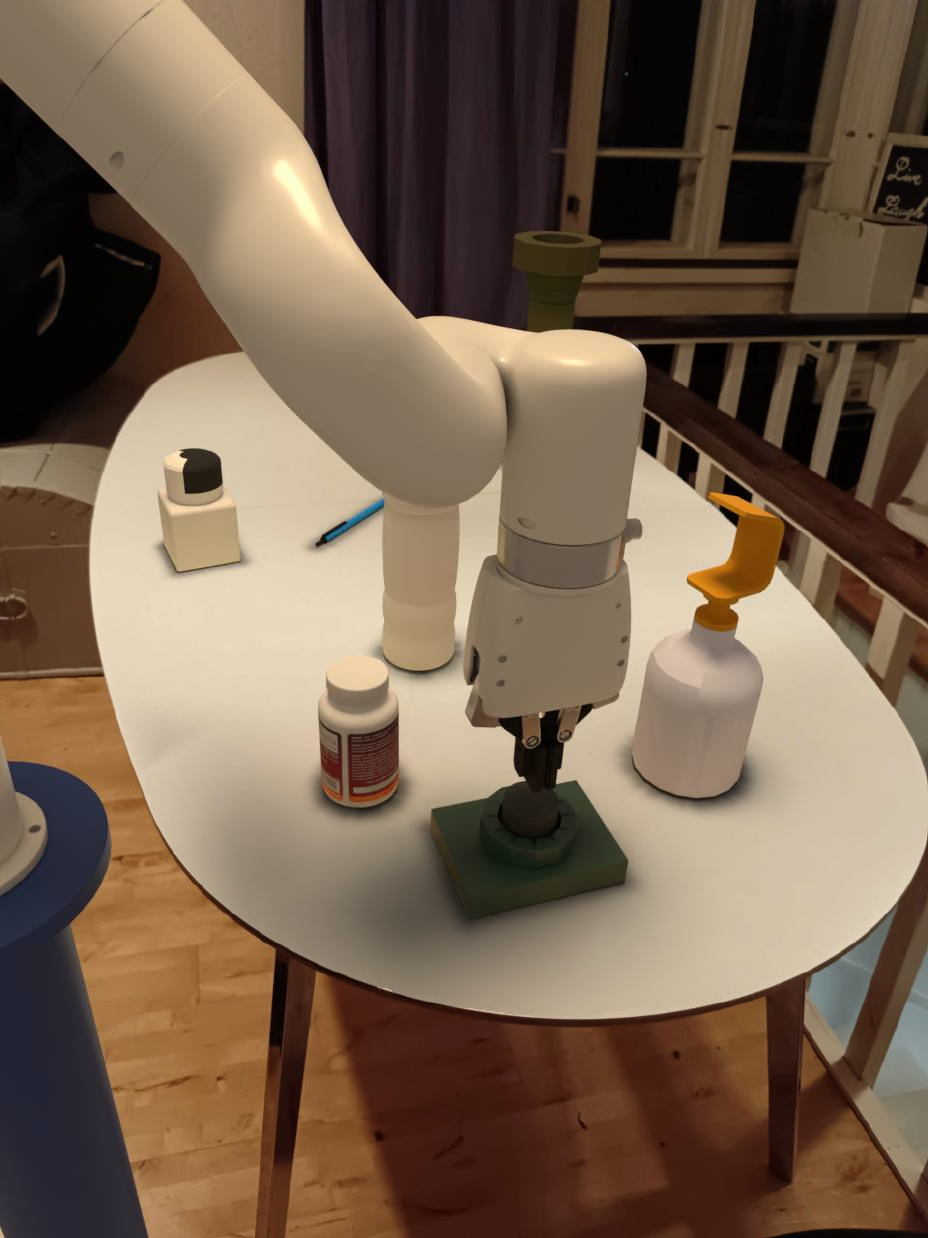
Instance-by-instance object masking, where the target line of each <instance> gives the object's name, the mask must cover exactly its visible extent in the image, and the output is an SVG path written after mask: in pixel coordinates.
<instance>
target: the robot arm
mask: <svg viewBox="0 0 928 1238" xmlns="http://www.w3.org/2000/svg"><path fill="white" fill-rule="evenodd" d="M0 80H1V81H2V82H4V84H5V85H7V86H8V87H9V88H10V90H12V91H13V92H14V93H15V94H16V96H17V97H19V99H20V100H22V101H23V102H24V103H25V104H26V105H27V106H28V107H29V108H30V109H31V110H32V111H33V112H34V113H35V114H36V115H37V116H38V117H39V118H40V119H41V120H42V121H43V122H44V123H45V124H47V126H48V127H50V129H51V130H52V131H54V133H56V134H57V135H58V136H59V137H60V138H61V139H63V140H64V141H65V142H66V143H67V144H68V145H69V146H70V147H71V148H72V149H73V150H74V151H75V152H76V153H77V154H78V155H79V156H80V157H81V158H82V159H83V160H84V161H85V162H86V163H87V164H88V165H89V166H90V167H92V169H94V170H95V171H96V173H98V175H100V176H101V177H102V179H104V180H105V181H106V182H107V183H108V185H110V186H111V187H112V188H113V189H114V190H115V191H116V192H117V193H118V194H119V195H120V196H121V197H122V199H124V200H125V201H126V202H127V203H128V204H130V206H131V208H132V209H133V210H134V211H135V212H136V213H137V214H139V215H140V216H141V217H142V218H143V219H144V220H145V221H146V222H147V223H148V224H149V225H150V226H151V227H152V228H153V229H154V230H155V231H156V232H157V233H158V234H159V235H160V236H161V237H162V238H163V240H165V241H166V242H167V243H168V244H169V245H170V246H171V247H172V248H173V250H174V251H175V252H176V253H177V254H178V256H180V257H181V258H182V259H183V261H184V262H185V263H186V264H187V266H188V268H189V269H190V271H191V273H192V274H193V276H194V277H195V280H196V281H197V283H198V285H199V287H200V288H201V291H202V292H203V294H204V296H205V297H206V299H207V300H208V302H209V303H210V305H211V306H212V308H213V309H214V310H215V312H216V313H217V315H218V316H219V317H220V319H221V321H222V322H223V323H224V324H225V325H226V327H227V329H228V330H229V332H230V333H231V335H232V336H233V338H234V340H235V341H236V342H237V344H238V345H239V347H240V348H241V349H242V351H243V352H244V354H245V355H246V357H247V359H248V360H249V361H250V362H251V364H252V366H254V368H255V369H256V371H257V372H258V373H259V374H260V376H261V377H262V378H263V380H264V381H265V383H267V385H269V387H270V388H271V390H272V391H273V392H274V393H275V394H276V395H277V397H279V399H280V400H281V401H282V402H283V403H284V404H285V405H286V406H287V407H288V408H289V409H290V410H291V411H292V413H293V414H295V416H296V417H297V418H298V419H299V420H300V421H301V422H302V423H304V425H306V426H307V427H308V428H309V429H310V430H311V431H312V432H313V433H314V435H316V436H317V437H318V438H319V439H320V440H321V441H322V442H323V443H324V444H325V445H327V447H329V448H330V449H331V450H332V451H333V452H334V453H335V454H336V455H337V456H338V457H339V458H340V459H341V460H342V461H343V462H345V463H346V465H348V466H349V467H350V468H351V469H352V470H353V471H354V472H355V473H357V474H358V475H359V476H360V477H361V478H363V479H364V480H365V481H366V482H368V483H369V484H371V485H372V486H373V487H375V489H377V490H378V491H380V492H381V493H382V492H383V493H385V494H387V495H389V496H390V497H392V498H394V499H396V500H398V501H401V502H403V503H406V504H409V505H411V506H416V507H421V508H446V507H451V506H456V505H458V504H459V505H461V504H463V503H465V502H467V501H469V500H471V499H472V498H474V497H475V496H477V495H478V494H480V493H481V492H482V491H483V490H484V489H485V488H486V487H487V486H488V484H489V483H491V481H492V480H493V479H494V478H495V475H496V474H497V472H498V471H499V469H500V467H501V464H502V471H501V484H500V499H499V500H500V501H499V515H498V528H497V529H498V530H497V546H496V553H495V554H492V555H491V554H490V555H487V556H486V557H485V558H484V559H483V561H482V565H481V567H480V569H479V572H478V573H479V574H478V575H477V580H476V583H475V588H474V591H473V595H472V600H471V605H470V609H469V615H468V621H467V628H466V634H465V641H464V650H463V660H462V661H463V664H462V666H463V667H462V675H463V679H464V681H465V683H466V686H472V688H471V691H470V694H469V698H468V700H467V703H466V706H465V709H464V713H465V716H466V717H467V720H468V721H469V723H470V725H471V726H472V727H473V728H488V729H489V728H490V729H493V728H494V729H496V728H498V727H500V728H502V729H503V730H504V731H506V732H507V733H508V734H510V735H511V736H513V737H514V749H513V761H512V762H513V767H514V770H515V773H516V774H517V776H518V778H523V779H524V781H526V782H527V784H528V785H529V787H530V789H531V790H532V792H533V793H535V792H540V791H541V789H543V787H544V788H546V789H547V790H550V789H554V788H555V787H556V784H557V779H558V771H559V770H561V769H562V767H563V757H564V752H565V751H564V749H565V743H568V742H569V741H570V740H572V738H573V736H574V734H575V730H576V726H578V725H579V724H580V723H581V722H582V721H583V720H584V719H585V718H586V717H587V716H588V715H589V714H590V713H591V712H592V711H593V710H594V711H595V710H597V709H600V708H603V707H606V706H607V705H610V704H612V703H616V702H617V701H618V700H619V699H620V692H621V690H622V688H623V686H624V683H625V680H626V677H627V671H628V666H629V658H630V649H631V638H632V637H631V636H632V596H631V584H630V574H629V567H628V564H627V562H626V561H625V559H624V557H625V550H626V544H628V543H631V541H636V540H640V539H641V538H642V535H643V524H642V522H641V520H640V518H638V517H634V518H628V515H629V508H630V501H631V492H632V485H633V478H634V473H635V464H636V457H637V450H638V443H639V436H640V431H641V430H640V429H641V422H642V415H643V408H644V401H645V396H646V395H645V394H646V389H647V388H646V386H647V376H648V375H647V374H648V373H647V364H646V361H645V358H644V356H643V354H642V352H641V351H640V350H639V349H638V347H636V346H635V345H634V344H633V343H631V342H630V341H628V340H627V339H623V338H621V337H618V336H616V335H613V334H611V333H610V334H609V333H605V332H601V331H594V330H587V329H572V330H552V331H545V332H541V333H535V332H528V331H526V330H520V329H515V328H511V327H506V326H505V327H504V326H499V325H495V324H490V323H486V322H481V321H476V320H472V319H467V318H461V317H455V316H447V315H446V316H445V315H440V316H439V315H431V316H425V317H420V318H416V316H414V315H413V313H411V312H410V311H409V310H408V308H407V307H406V306H405V305H404V304H403V303H402V302H401V300H400V299H399V298H398V297H397V296H396V294H394V292H393V291H392V290H391V289H390V287H388V285H387V283H385V282H384V280H383V279H382V278H381V277H380V275H379V274H378V273H377V271H376V270H375V269H374V267H373V266H372V265H371V263H370V262H369V261H368V259H367V258H366V256H365V255H364V253H363V252H362V251H361V249H360V247H358V244H357V243H356V242H355V240H354V239H353V237H352V235H351V234H350V232H349V230H348V228H347V227H346V225H345V224H344V221H343V219H342V217H341V216H340V214H339V212H338V210H337V208H336V205H335V203H334V201H333V198H332V196H331V194H330V191H329V188H328V186H327V183H326V180H325V178H324V175H323V172H322V169H321V167H320V164H319V162H318V159H317V157H316V155H315V154H314V151H313V149H312V148H311V146H310V144H309V143H308V141H307V139H306V138H305V136H304V135H303V133H302V131H301V130H300V129H299V128H298V125H296V123H295V122H294V121H293V120H292V119H291V117H290V116H289V115H288V114H287V113H286V112H285V111H284V110H283V109H282V108H281V106H279V105H278V103H277V102H276V101H275V100H274V99H273V98H272V97H271V96H270V94H268V92H267V91H266V90H264V88H263V87H262V86H261V85H260V84H259V82H257V81H256V79H255V78H254V77H253V76H252V75H251V74H250V73H249V72H248V71H247V70H246V69H245V67H244V66H243V65H242V64H241V63H240V62H239V61H238V60H237V59H236V58H235V56H234V55H233V54H232V53H231V52H230V51H229V50H228V49H227V48H226V46H225V45H224V43H223V44H222V42H221V41H220V40H219V39H218V38H217V36H215V34H214V33H213V32H212V31H211V29H209V28H208V26H206V24H205V23H203V21H202V20H201V19H200V17H198V16H197V14H196V13H194V11H193V10H192V9H191V8H190V6H188V5H187V3H186V2H185V1H184V0H0ZM1 489H2V470H1V468H0V491H1ZM383 493H382V494H383ZM540 714H541V717H540ZM7 761H8V760H7V756H6V752H5V748H4V745H3V741H2V737H1V736H0V896H1V895H2V894H4V893H6V892H7V891H9V890H11V889H12V888H13V887H14V886H16V885H17V884H18V883H19V882H21V881H22V880H23V879H24V878H25V877H26V876H27V875H28V874H29V873H30V872H31V871H32V870H33V869H34V867H35V866H36V865H37V863H38V861H39V860H40V858H41V857H42V855H43V853H44V850H45V848H46V845H47V839H48V829H47V824H46V819H45V817H44V814H43V811H42V810H41V808H40V807H39V806H38V805H37V803H36V802H34V801H33V800H32V799H30V798H29V797H27V796H26V795H23V794H21V793H18V792H16V791H15V790H14V786H13V782H12V778H11V775H10V771H9V767H8V763H7Z"/></svg>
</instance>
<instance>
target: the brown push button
mask: <svg viewBox="0 0 928 1238" xmlns="http://www.w3.org/2000/svg"><path fill="white" fill-rule="evenodd" d="M508 786H509V787H508V788H507V790H506V791H505V793H504V796H503V806H502V823H503V825H504V827H505V828H506V829H507V830H508V831H509V832H510V833H512V834H513V835H515V836H517V837H523V838H529V839H538V838H542V837H546V836H548V835H549V834H551V833H552V832H553V830H554V829H555V827H556V824H557V816H558V809H559V798H558V796H557V794H556V792H555V791H554V790H553V789H550V790H547V789H546V788H544V787H543V789H541V791H540V792H535V793H533V792H532V790H531V789H530V787H529V785H528V784H527V782H526V780H521V781H517V782H515V783H514V782H513V784H511V785H508Z"/></svg>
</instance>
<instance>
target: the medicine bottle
mask: <svg viewBox="0 0 928 1238" xmlns="http://www.w3.org/2000/svg"><path fill="white" fill-rule="evenodd" d="M162 466H163V473H164V482H165V488H159V489H158V490H157V492H156V494H157V501H158V507H159V515H160V523H161V530H162V539H163V540H162V541H163V545H164V547H165V550H166V551H167V554H168V555H169V557H170V559H171V562H172V563H173V565H174V567H175V569H176V571H177V572H178V573H179V572H185V571H190V570H198V569H203V568H209V567H215V566H221V565H225V564H231V563H237V562H240V561H241V548H240V537H239V535H240V534H239V526H238V523H239V522H238V513H237V505H236V503H235V502H234V499H232V497H231V496H230V494H229V492H228V491H227V490H226V488H225V487H224V480H223V467H222V459H221V457H220V456H219V454H217V453H216V452H214V451H212V450H209V449H205V448H198V447H188V448H181V449H179V450H176V451H174V452H171V453H169V454H168V455H167V456H166V457H165V458H164V459H163V462H162Z"/></svg>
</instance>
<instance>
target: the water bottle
mask: <svg viewBox="0 0 928 1238" xmlns="http://www.w3.org/2000/svg"><path fill="white" fill-rule="evenodd" d="M381 493H382V497H383V498H384V500H385V503H384V507H383V513H382V534H381V535H382V540H381V541H382V544H381V547H382V549H381V550H382V574H383V585H384V588H383V592H382V605H381V606H382V607H381V608H382V617H383V625H382V634H381V635H382V636H381V637H382V638H381V642H382V643H381V647H382V652H383V653H382V654H383V655H384V657H385V658H386V659H387V660H388V661H389V662H390V663H391V664H393V665H395V666H396V667H399V668H400V669H401V668H402V669H404V670H408V671H416V672H417V671H418V672H421V671H423V672H424V671H431V670H434V669H437V668H439V667H442V666H443V665H445V664H446V663H448V662H449V661H450V660H451V659H452V657H453V655H454V653H455V649H456V627H455V620H456V615H457V593H456V585H457V579H458V570H459V558H460V538H461V537H460V535H461V534H460V533H461V528H460V527H461V526H460V525H461V524H460V523H461V517H460V516H461V515H460V504H458V505H456V506H451V507H446V508H421V507H416V506H411V505H409V504H406V503H403V502H401V501H398V500H396V499H394V498H392V497H390V496H389V495H387V494H385V493H383V492H382V491H381Z"/></svg>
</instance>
